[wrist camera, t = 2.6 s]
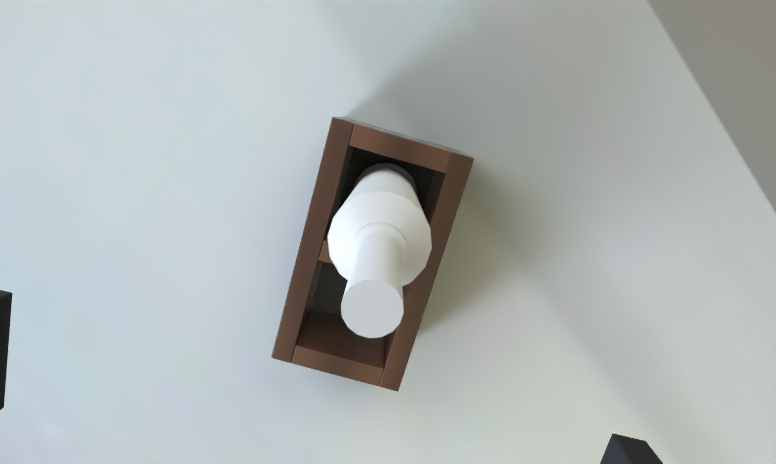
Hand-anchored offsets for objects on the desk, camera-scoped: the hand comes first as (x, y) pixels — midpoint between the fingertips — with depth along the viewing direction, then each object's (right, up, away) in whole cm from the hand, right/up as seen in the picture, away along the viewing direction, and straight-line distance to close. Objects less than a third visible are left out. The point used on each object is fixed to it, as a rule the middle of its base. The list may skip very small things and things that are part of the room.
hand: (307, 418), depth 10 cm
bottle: (+2, +7, +30) cm, 31 cm away
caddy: (0, +3, +30) cm, 31 cm away
